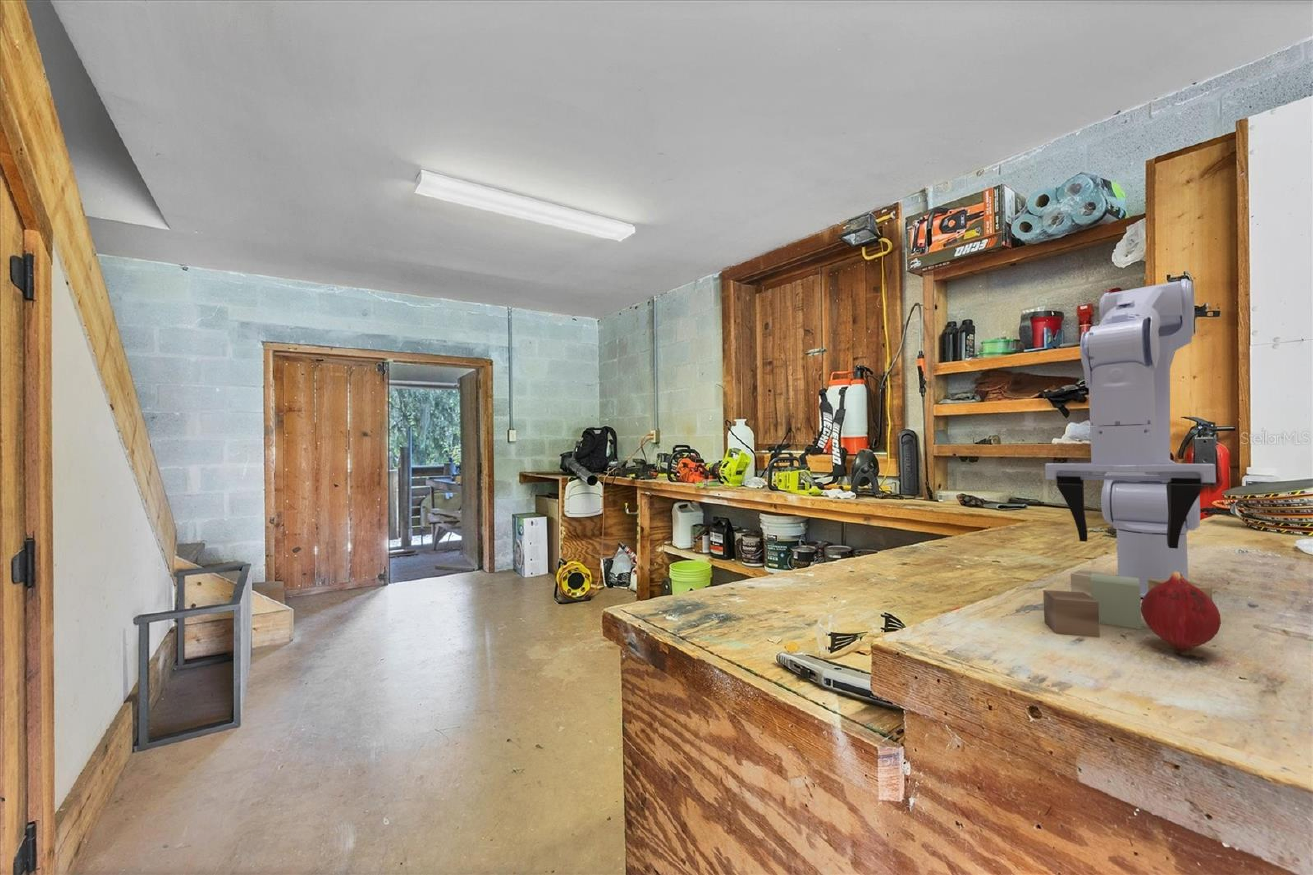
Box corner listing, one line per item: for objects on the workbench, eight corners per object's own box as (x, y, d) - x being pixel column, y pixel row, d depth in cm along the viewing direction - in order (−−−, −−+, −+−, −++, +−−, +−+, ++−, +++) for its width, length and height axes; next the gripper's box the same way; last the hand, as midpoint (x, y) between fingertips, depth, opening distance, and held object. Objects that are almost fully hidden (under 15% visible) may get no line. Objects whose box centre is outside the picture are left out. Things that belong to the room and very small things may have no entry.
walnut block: (1044, 623, 64) (1043, 589, 64) (1084, 626, 62) (1083, 592, 62) (1056, 634, 60) (1055, 599, 60) (1099, 638, 59) (1098, 602, 59)
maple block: (1082, 598, 73) (1081, 569, 73) (1119, 605, 70) (1118, 574, 70) (1071, 603, 71) (1070, 573, 71) (1109, 610, 68) (1108, 579, 68)
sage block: (1092, 612, 67) (1091, 573, 67) (1139, 619, 64) (1138, 578, 64) (1092, 622, 64) (1090, 580, 64) (1141, 629, 61) (1140, 586, 61)
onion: (1239, 663, 51) (1236, 580, 51) (1169, 660, 52) (1166, 578, 52) (1191, 641, 57) (1188, 566, 57) (1129, 638, 58) (1127, 565, 58)
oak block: (1148, 610, 67) (1147, 579, 68) (1183, 610, 67) (1181, 579, 67) (1176, 621, 64) (1175, 587, 64) (1213, 621, 63) (1211, 587, 63)
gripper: (1041, 428, 63) (1045, 542, 63) (1218, 422, 54) (1223, 557, 53) (1046, 428, 68) (1050, 533, 68) (1207, 423, 59) (1212, 545, 59)
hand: (1126, 543), depth 61 cm, fingers open, 7 cm apart
